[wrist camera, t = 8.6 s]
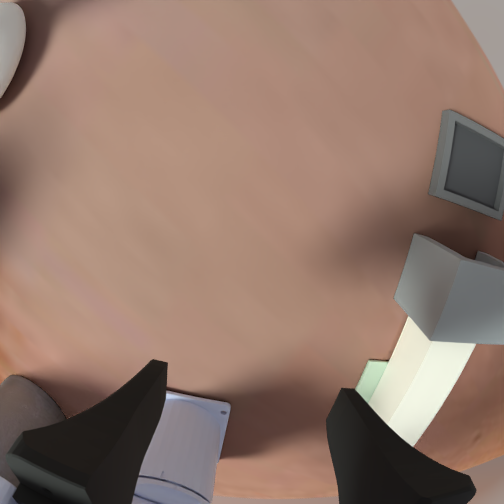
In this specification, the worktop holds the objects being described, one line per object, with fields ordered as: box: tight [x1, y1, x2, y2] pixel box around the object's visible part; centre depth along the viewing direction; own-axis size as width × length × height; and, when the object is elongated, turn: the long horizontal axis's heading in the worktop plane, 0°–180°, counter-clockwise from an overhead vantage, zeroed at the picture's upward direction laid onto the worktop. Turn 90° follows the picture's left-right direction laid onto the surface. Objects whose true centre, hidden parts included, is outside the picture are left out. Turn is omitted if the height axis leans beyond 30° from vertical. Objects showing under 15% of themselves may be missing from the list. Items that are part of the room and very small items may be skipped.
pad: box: [355, 360, 389, 403], centre depth 24 cm, size 8×8×1 cm
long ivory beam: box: [368, 316, 476, 447], centre depth 21 cm, size 12×4×4 cm, turn 169°
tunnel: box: [394, 233, 504, 345], centre depth 18 cm, size 5×8×6 cm, turn 79°
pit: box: [428, 110, 504, 221], centre depth 18 cm, size 6×7×1 cm
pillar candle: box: [0, 375, 66, 488], centre depth 19 cm, size 10×10×15 cm
